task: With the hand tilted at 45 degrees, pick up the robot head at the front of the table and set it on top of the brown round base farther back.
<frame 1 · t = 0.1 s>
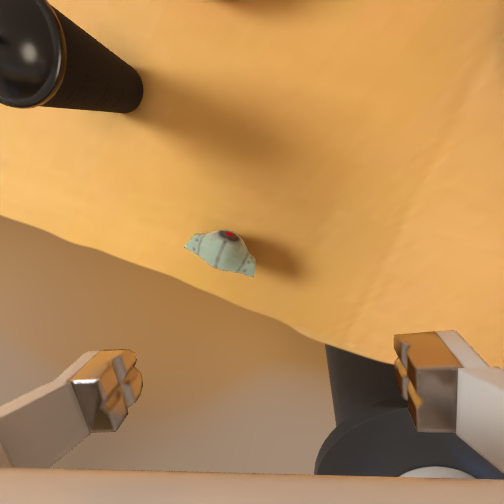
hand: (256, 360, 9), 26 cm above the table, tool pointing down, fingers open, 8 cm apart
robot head: (233, 239, 36), on the table
drinking cup: (123, 89, 33), on the table
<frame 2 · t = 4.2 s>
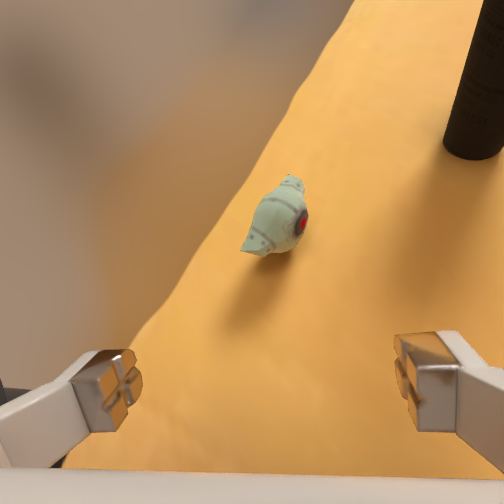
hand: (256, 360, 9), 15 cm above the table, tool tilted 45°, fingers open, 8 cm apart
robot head: (287, 245, 28), on the table
drinking cup: (471, 143, 29), on the table
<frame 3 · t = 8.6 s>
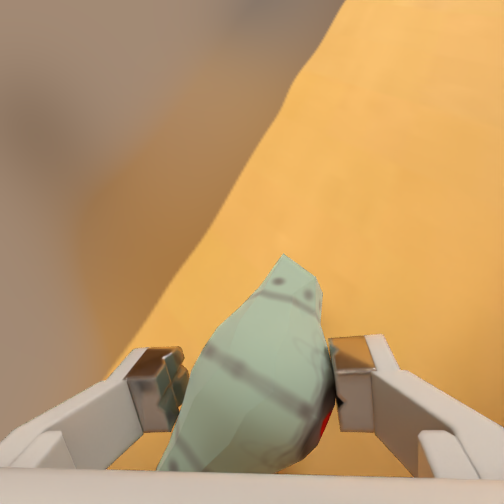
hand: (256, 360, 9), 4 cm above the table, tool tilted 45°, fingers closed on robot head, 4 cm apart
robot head: (279, 393, 13), on the table, touching gripper
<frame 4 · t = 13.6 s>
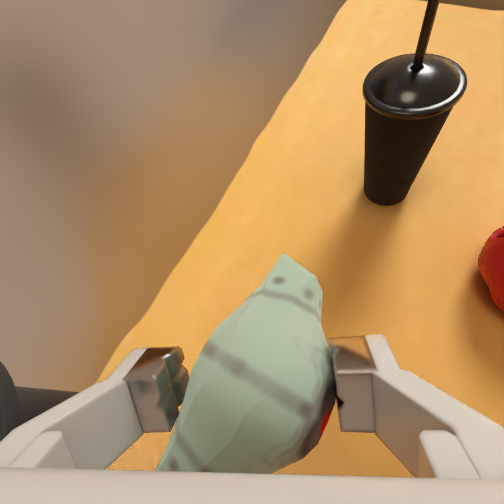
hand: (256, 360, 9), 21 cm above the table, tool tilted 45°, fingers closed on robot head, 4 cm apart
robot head: (279, 392, 13), point 17 cm above the table, touching gripper
drinking cup: (384, 190, 36), on the table
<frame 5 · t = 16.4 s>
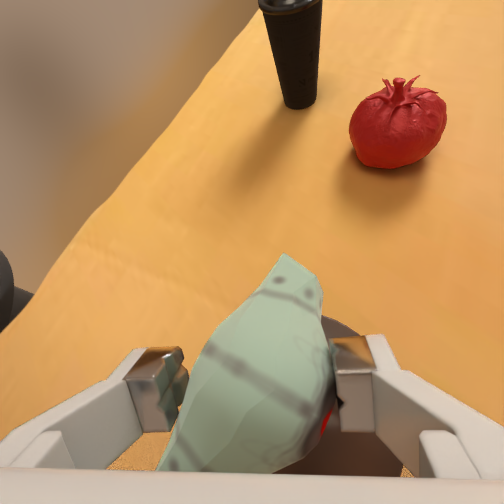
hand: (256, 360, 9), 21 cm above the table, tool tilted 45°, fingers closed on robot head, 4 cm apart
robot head: (280, 392, 13), point 16 cm above the table, touching gripper
red tomato: (388, 150, 38), on the table
drinking cup: (300, 100, 46), on the table
brown round base: (306, 411, 27), on the table
when the fingers open (14 cm above the table, at t = 18.7 s): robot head stays where it is, resting on brown round base.
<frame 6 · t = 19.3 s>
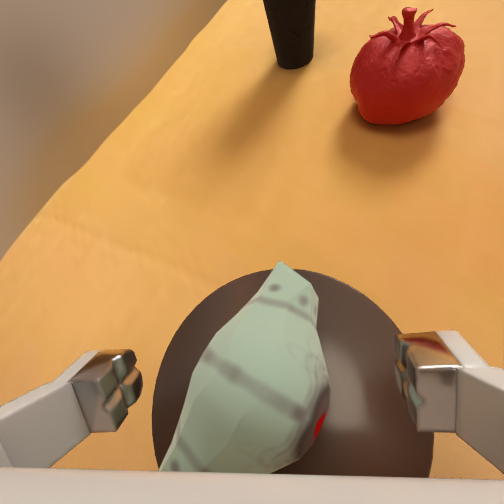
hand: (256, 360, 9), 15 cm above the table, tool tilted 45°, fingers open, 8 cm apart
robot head: (280, 395, 13), point 10 cm above the table, touching brown round base
red tomato: (395, 106, 33), on the table
drinking cup: (295, 59, 41), on the table
brown round base: (298, 402, 22), on the table
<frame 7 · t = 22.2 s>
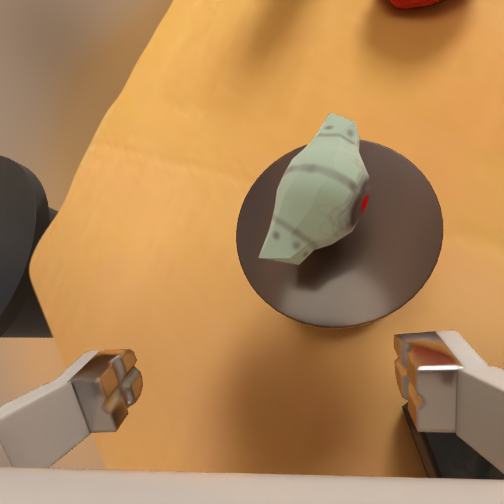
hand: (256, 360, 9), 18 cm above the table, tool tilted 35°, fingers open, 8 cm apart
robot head: (329, 227, 18), point 10 cm above the table, touching brown round base
brown round base: (337, 263, 27), on the table
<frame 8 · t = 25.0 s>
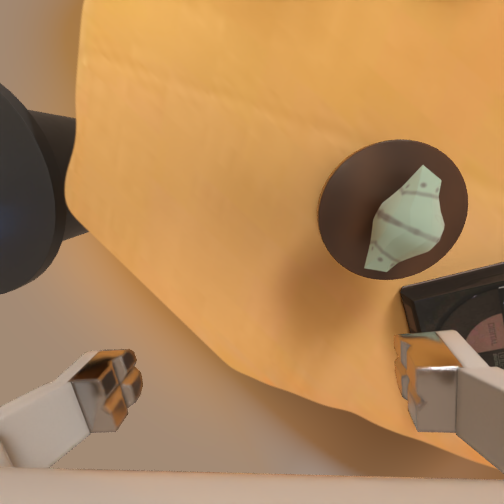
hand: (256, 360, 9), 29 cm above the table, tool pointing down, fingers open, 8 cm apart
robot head: (389, 214, 26), point 10 cm above the table, touching brown round base
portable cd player: (482, 328, 38), on the table
brown round base: (365, 199, 35), on the table
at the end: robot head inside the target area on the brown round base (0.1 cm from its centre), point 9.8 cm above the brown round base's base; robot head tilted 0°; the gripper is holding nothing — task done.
